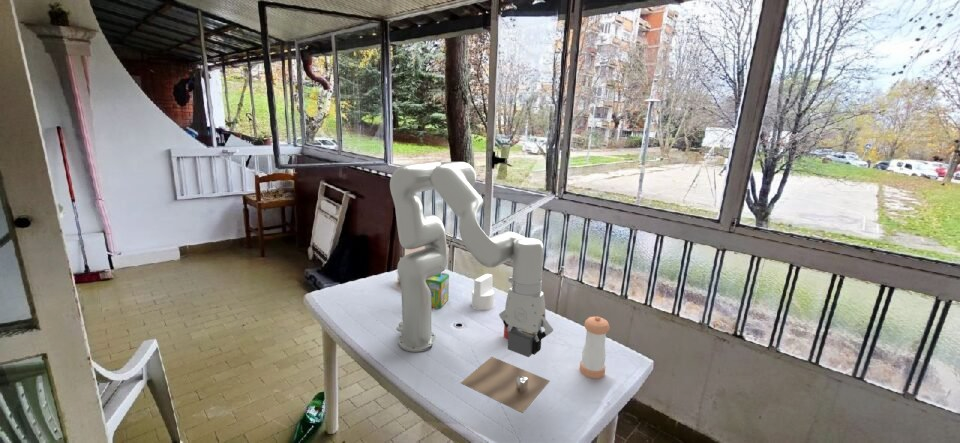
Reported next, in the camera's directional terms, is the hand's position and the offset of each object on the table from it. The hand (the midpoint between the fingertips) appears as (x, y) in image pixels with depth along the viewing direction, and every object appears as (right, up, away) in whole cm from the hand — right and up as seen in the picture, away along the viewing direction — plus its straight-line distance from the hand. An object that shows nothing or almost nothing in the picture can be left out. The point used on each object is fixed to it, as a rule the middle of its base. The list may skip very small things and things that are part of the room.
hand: (524, 347), depth 110 cm
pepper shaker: (+22, -12, +13) cm, 28 cm away
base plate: (-5, -13, +7) cm, 15 cm away
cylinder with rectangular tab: (-11, 0, +56) cm, 57 cm away
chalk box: (-30, +1, +57) cm, 65 cm away
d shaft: (0, -13, +4) cm, 13 cm away
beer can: (0, -7, +31) cm, 32 cm away
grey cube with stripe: (0, 0, 0) cm, 0 cm away
